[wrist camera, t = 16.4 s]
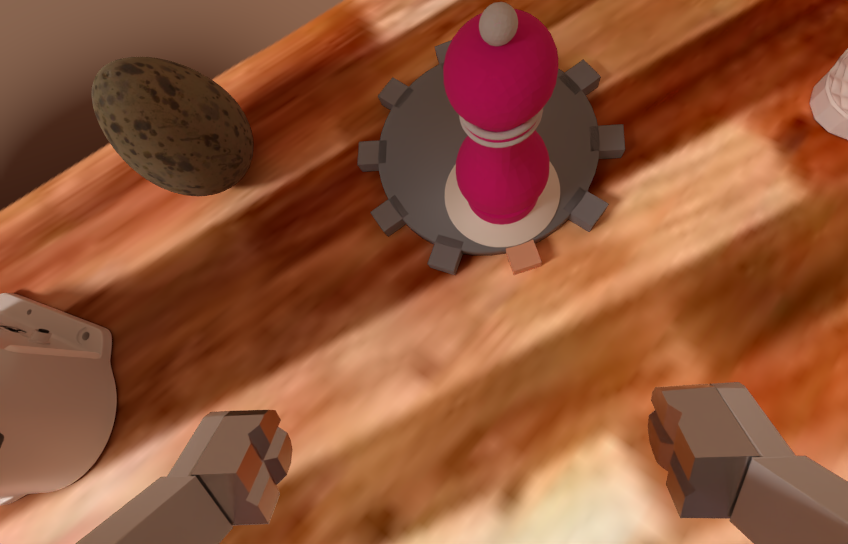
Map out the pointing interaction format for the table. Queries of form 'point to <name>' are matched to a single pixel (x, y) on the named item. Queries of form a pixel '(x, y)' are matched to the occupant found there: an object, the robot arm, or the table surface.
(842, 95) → the white cup
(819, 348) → the table surface
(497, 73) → the pepper mill
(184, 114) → the decorative egg
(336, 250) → the table surface
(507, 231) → the sprocket plate
